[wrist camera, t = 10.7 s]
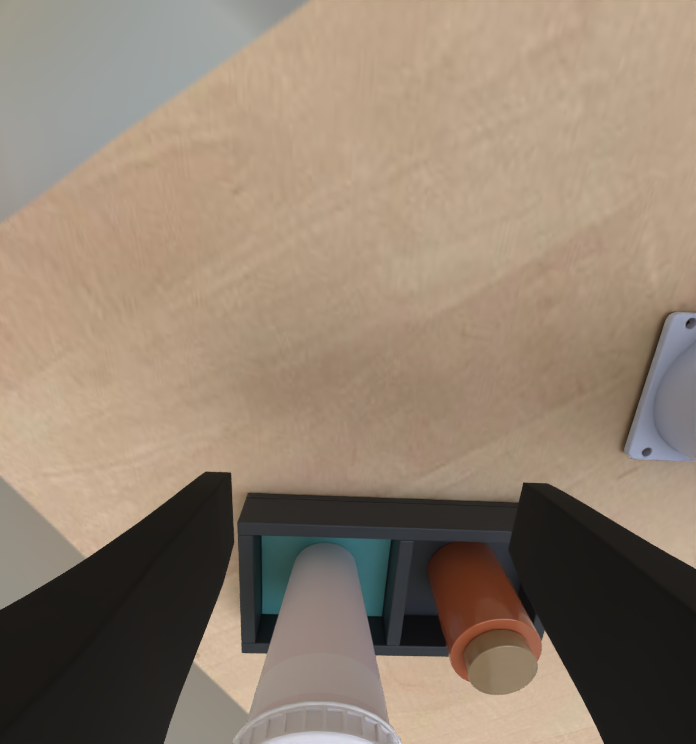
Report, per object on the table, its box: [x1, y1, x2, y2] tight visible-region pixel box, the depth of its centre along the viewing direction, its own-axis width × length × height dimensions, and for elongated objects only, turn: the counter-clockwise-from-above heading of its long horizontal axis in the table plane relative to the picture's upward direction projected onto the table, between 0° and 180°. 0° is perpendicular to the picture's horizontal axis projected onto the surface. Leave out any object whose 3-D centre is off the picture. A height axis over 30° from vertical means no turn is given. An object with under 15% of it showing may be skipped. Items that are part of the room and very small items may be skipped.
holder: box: [237, 493, 545, 657], centre depth 22 cm, size 9×17×2 cm, turn 87°
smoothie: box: [232, 543, 402, 744], centre depth 15 cm, size 6×6×14 cm
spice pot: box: [427, 542, 542, 695], centre depth 20 cm, size 4×4×6 cm
